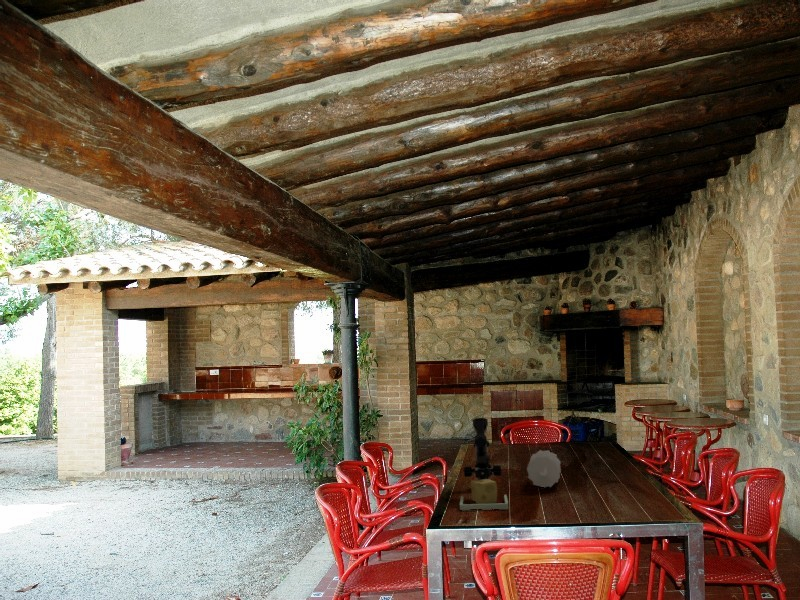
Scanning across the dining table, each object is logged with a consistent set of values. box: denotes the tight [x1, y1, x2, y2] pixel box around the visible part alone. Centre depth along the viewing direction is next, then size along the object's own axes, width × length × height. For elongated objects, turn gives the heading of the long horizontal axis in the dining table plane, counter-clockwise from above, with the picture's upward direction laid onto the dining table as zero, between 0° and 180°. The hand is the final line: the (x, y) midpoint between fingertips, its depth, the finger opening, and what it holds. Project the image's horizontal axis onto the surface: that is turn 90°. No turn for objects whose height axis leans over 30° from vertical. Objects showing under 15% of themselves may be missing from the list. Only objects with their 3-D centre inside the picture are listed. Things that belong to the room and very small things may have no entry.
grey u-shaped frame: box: [459, 494, 509, 511], centre depth 338 cm, size 19×22×2 cm
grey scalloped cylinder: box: [526, 449, 562, 488], centre depth 377 cm, size 18×18×25 cm
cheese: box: [470, 478, 498, 504], centre depth 345 cm, size 10×11×10 cm
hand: (483, 485), depth 351 cm, fingers closed
